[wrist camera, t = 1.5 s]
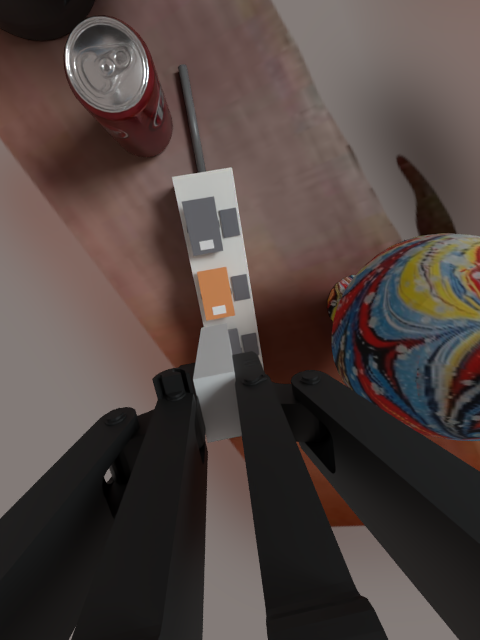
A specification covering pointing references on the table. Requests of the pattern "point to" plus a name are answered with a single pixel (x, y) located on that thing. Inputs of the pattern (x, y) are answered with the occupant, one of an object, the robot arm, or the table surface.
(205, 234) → the rocker
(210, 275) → the rocker middle
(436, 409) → the vase
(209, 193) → the power strip
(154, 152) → the soda can
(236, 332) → the rocker
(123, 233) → the table surface
